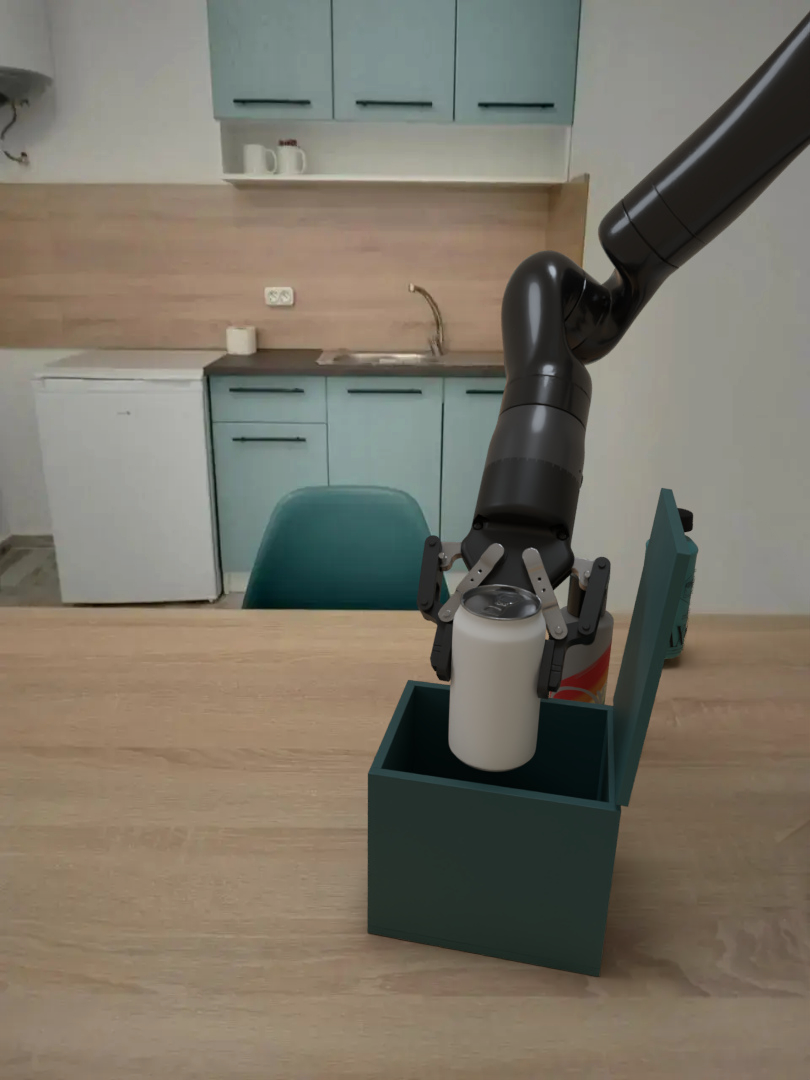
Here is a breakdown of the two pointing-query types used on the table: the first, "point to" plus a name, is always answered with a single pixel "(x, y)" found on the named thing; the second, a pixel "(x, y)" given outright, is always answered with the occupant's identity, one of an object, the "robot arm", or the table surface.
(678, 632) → the beverage bottle
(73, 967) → the table surface
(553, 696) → the lotion bottle
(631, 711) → the lid
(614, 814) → the dark teal storage box
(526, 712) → the can
